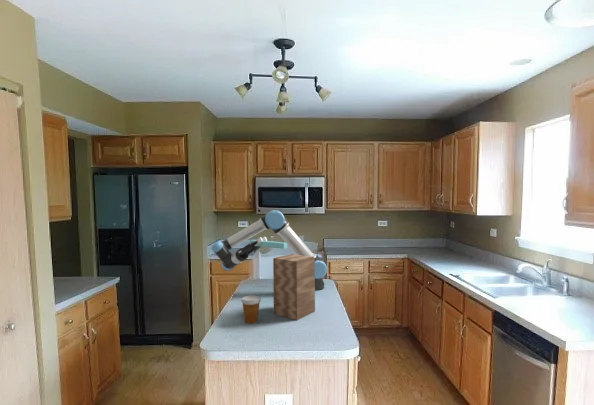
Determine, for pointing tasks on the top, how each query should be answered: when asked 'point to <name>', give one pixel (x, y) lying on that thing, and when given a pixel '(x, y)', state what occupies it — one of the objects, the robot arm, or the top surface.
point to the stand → (294, 286)
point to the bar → (271, 244)
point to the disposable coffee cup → (251, 308)
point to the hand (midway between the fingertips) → (263, 239)
